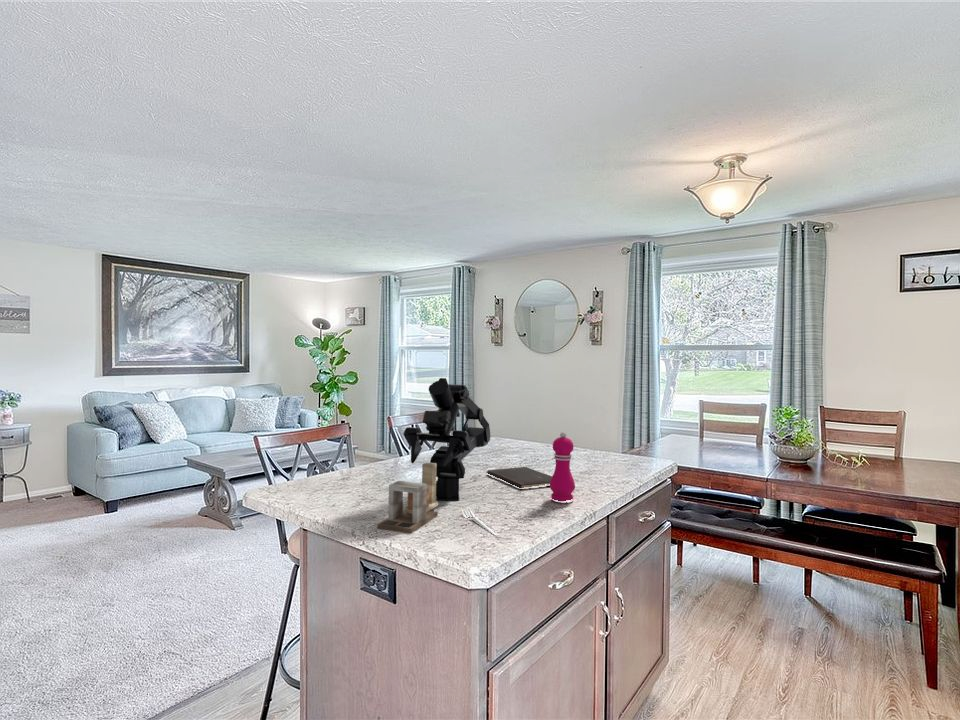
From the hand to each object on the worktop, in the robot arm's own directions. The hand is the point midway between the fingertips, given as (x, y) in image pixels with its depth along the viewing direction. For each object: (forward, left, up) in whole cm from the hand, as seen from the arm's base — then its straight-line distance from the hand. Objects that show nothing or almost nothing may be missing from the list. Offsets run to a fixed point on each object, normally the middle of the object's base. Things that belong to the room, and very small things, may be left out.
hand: (427, 463), depth 137 cm
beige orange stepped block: (+1, +2, -11) cm, 12 cm away
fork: (-13, +12, -13) cm, 22 cm away
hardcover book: (-32, -35, -13) cm, 49 cm away
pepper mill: (-39, -9, -13) cm, 42 cm away
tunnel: (+5, +10, -13) cm, 17 cm away
